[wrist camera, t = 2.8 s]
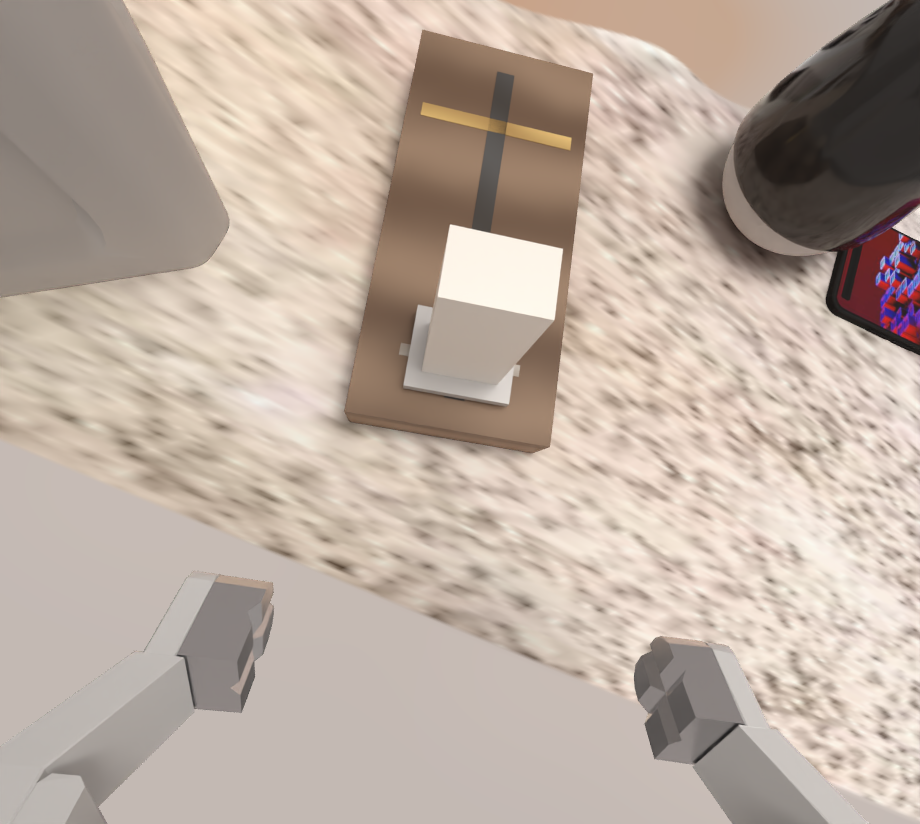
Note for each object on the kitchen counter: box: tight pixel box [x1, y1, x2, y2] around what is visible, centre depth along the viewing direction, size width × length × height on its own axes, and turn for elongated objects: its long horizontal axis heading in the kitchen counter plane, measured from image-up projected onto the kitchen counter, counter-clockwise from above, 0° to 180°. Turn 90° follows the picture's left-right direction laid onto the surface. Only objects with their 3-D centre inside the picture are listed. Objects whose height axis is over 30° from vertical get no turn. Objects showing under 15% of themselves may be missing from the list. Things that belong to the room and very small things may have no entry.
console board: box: [344, 30, 593, 453], centre depth 27 cm, size 22×10×3 cm, turn 171°
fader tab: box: [403, 224, 563, 407], centre depth 19 cm, size 4×5×9 cm
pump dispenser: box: [722, 0, 920, 256], centre depth 24 cm, size 10×10×15 cm
